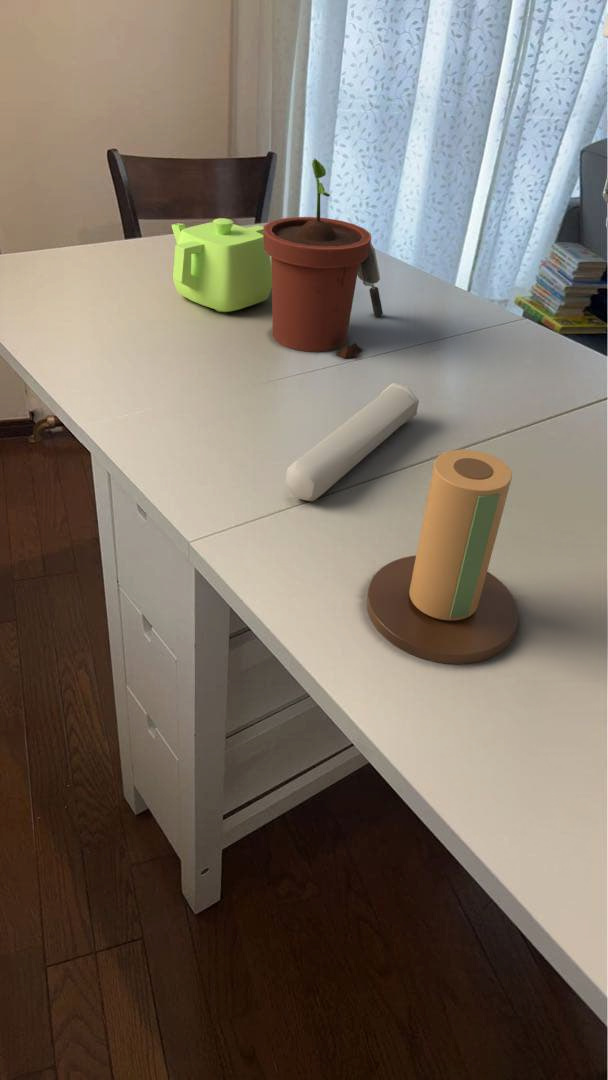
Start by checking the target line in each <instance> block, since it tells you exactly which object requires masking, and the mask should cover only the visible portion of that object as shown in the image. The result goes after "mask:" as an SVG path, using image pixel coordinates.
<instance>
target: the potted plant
mask: <svg viewBox="0 0 608 1080" xmlns="http://www.w3.org/2000/svg"><path fill="white" fill-rule="evenodd" d="M311 166H312V170H313V174H314V178H315V181H316V216H315V217H314V216H291V217H283V218H278V219H275V220H271V221H269V222H267V223H266V224H264V226H263V227H264V229H263V238H264V250H265V251H266V252H267V254H268V255H270V260H271V267H272V289H271V301H272V302H271V308H272V310H271V311H272V312H271V313H272V337H273V340H275V342H277V343H279V344H280V345H281V346H284V347H286V348H289V349H291V350H297V351H301V352H313V353H318V352H328V351H333V350H337V349H339V348H340V349H339V351H337V352H336V354H335V355H336V356H338V357H340V358H342V359H352V358H354V359H355V358H357V354H358V353H360V352H362V351H363V350H362V348H361V347H360V346H359V345H358V343H357V342H354V343H352V344H350V343H347V344H346V345H345V343H346V342H347V338H348V333H349V326H350V320H351V316H352V315H351V314H352V309H353V303H354V296H355V291H356V284H357V281H358V280H357V279H359V280H361V281H362V284H363V286H365V287H370V288H369V289H368V290H369V295H370V301H371V307H372V311H373V316H374V317H376V318H381V317H382V316H383V315H384V312H383V308H382V301H381V296H380V290H379V287H378V286H375V284H377V283H379V281H380V280H381V275H380V269H379V265H378V259H377V253H376V249H375V248H374V245H373V244H372V234H371V233H370V231H368V230H367V229H365V228H364V227H362V226H359V225H357V224H355V223H351V222H348V221H344V220H340V219H333V218H327V217H321V195H323V196H326V197H331V194H330V193H328V192H326V191H325V190H326V189H325V187H324V184H323V183H322V182H320V179H321V178H323V177H325V176H326V174H327V171H326V168H325V166H324V165H323V164H322V163H321V162H320V161H319V160H317V159H316V158H315V157H314V158H313V160H312V163H311ZM341 347H342V348H341Z"/></svg>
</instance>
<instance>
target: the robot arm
mask: <svg viewBox="0 0 608 1080" xmlns="http://www.w3.org/2000/svg"><path fill="white" fill-rule="evenodd" d="M602 36H603V37H604V38H606V39H608V13H607V14H606V19H605V21H604V26H603V31H602ZM606 132H607V133H608V118H607V119H606ZM602 197H603V198H602V199H603V201H604V202H605V203H607V204H608V174H607V176H606V180H605V184H604V187H603V190H602ZM605 226H606V229H607V230H608V214H607V215H606V219H605Z"/></svg>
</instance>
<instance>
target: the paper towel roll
mask: <svg viewBox="0 0 608 1080" xmlns="http://www.w3.org/2000/svg"><path fill="white" fill-rule="evenodd" d="M432 466H433V467H432V472H431V477H430V482H429V488H428V493H427V498H426V503H425V508H424V513H423V519H422V523H421V529H420V534H419V540H418V545H417V549H416V550H417V551H416V555H415V556H416V559H415V565H414V570H413V575H412V580H411V585H410V591H409V594H410V598H411V601H412V602H413V604H414V605H415V606H416V607H417V608H418V609H419V610H420V611H422V612H423V613H425V614H427V615H429V616H431V617H434V618H437V619H441V620H450V621H451V620H461V619H464V618H467V617H469V616H470V615H472V614H473V613H474V612H475V611H476V609H477V607H478V604H479V600H480V596H481V593H482V589H483V585H484V581H485V578H486V574H487V572H488V570H489V567H490V562H491V559H492V555H493V551H494V546H495V543H496V540H497V536H498V531H499V528H500V524H501V520H502V517H503V513H504V510H505V509H504V508H505V506H506V501H507V498H508V494H509V490H510V486H511V484H512V483H511V482H512V478H513V475H512V471H511V469H510V467H509V466H508V465H507V464H506V463H505V462H504V461H502V460H501V459H499V458H498V457H496V456H495V455H494V456H493V455H492V454H489V453H486V452H484V451H478V450H474V449H453V450H447V451H445V452H442V453H441V454H440V455H437V456H436V458H435V460H434V462H433V465H432Z"/></svg>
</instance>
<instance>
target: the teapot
mask: <svg viewBox="0 0 608 1080" xmlns="http://www.w3.org/2000/svg"><path fill="white" fill-rule="evenodd" d="M171 228H172V232H173V235H174V238H175V242H176V244H175V246H174V257H173V258H174V259H173V270H172V281H173V284H174V286H175V289H176V291H177V293H178V294H179V295H181V297H184V298H186V299H188V300H190V301H191V302H193V303H196V304H199V305H202V306H204V307H208V308H210V309H214V311H216V312H217V313H229V312H234V311H238V310H241V309H245V308H247V307H251V306H253V305H257V304H259V303H261V302H265V301H267V299H269V296H270V294H271V293H272V266H271V256H270V255H268V254H267V252H266V251H265V250H264V238H263V229H264V226H261V225H258V224H256V225H252V226H249V227H244V226H241V225H238V224H235V223H234V221H233V220H232V219H229V218H225V217H220V218H215V219H213V220H212V221H211V222H206V223H201V224H198V225H192V226H189V227H186V225H185V223H173V224H171Z"/></svg>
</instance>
